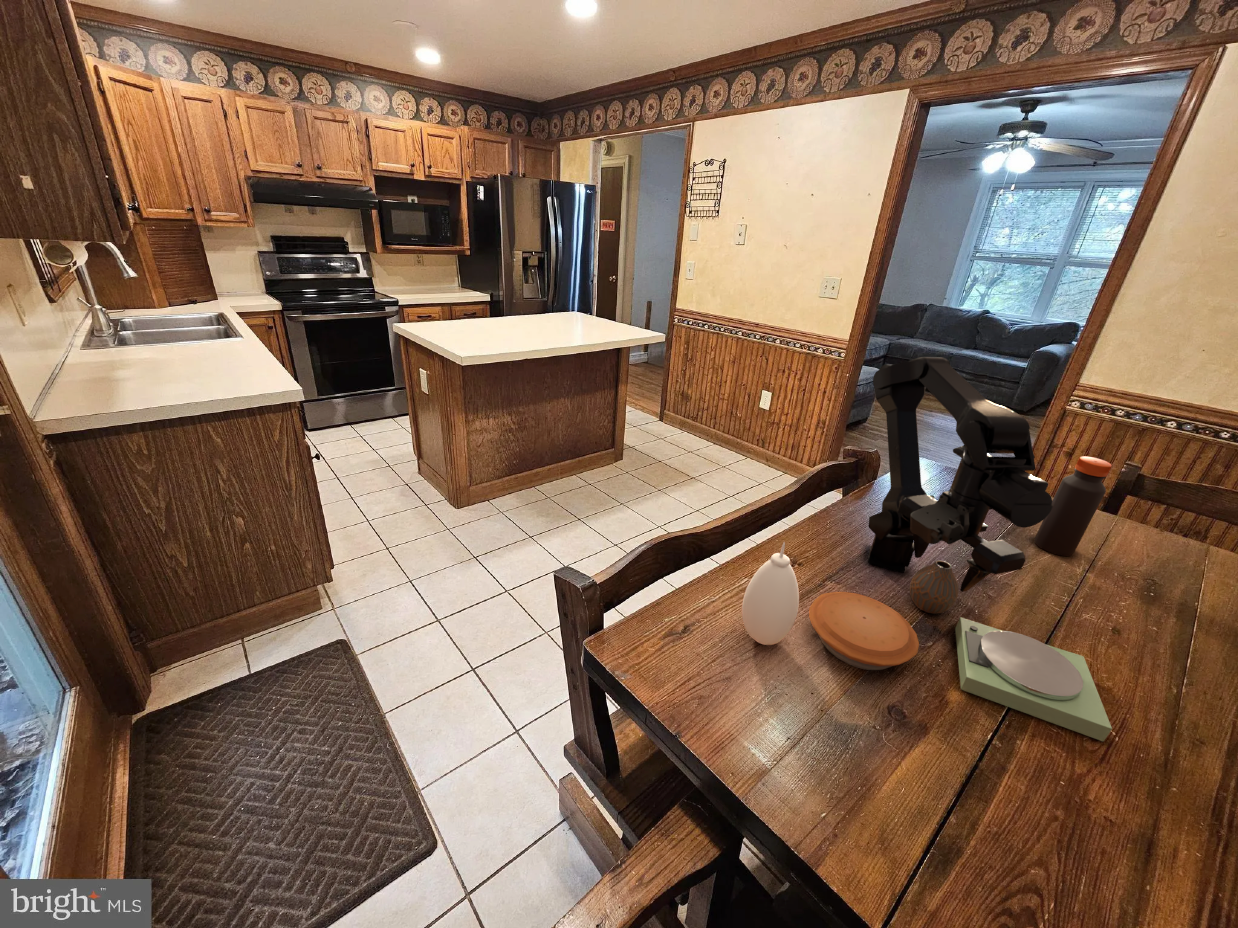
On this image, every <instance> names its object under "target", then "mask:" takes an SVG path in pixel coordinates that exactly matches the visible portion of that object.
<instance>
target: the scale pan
mask: <svg viewBox="0 0 1238 928" xmlns="http://www.w3.org/2000/svg"><path fill="white" fill-rule="evenodd" d="M1048 645H1049V644H1046V643H1044V642H1042V641H1040V640H1038V639H1035V638H1033V637H1031V636H1028V635H1025V634H1022V633H1018V632H1015V631H1008V630H1002V631H992V632H989V633H987V634H985V635H984V636H983V637H982V639H981V641H980V644H979V649H980V653H981V655H982V657H983V658H984V660H985V661H986V662H987V664H988V665H989V666H990V667H991V668H992V669H993V670H994V671H995V672H996V673H998V674H999V675H1000V676H1001V677H1003V678H1004V679H1006V680H1007V681H1009V682H1010V683H1012V684H1013V685H1015V686H1017V687H1019V688H1021V689H1023V690H1025V691H1027V692H1030V693H1032V694H1035V695H1038V696H1041V697H1045V698H1049V699H1055V700H1068V699H1072V698H1075V697H1076V696H1078V695H1079V693H1080V692H1081V690H1082V688H1083V679H1082V677H1081V675H1080V673H1079V671H1078V670H1077V669H1076V667H1075V666H1074V665H1073V664H1072V663H1071V662H1070V661H1069V660H1068V659H1066V658H1065V657H1064V656H1063V655H1061V654H1060V653H1059V652H1057V651H1056V650H1054V649H1053V648H1051V647H1049V646H1050V645H1049V646H1048Z"/></svg>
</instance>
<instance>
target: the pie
mask: <svg viewBox="0 0 1238 928" xmlns="http://www.w3.org/2000/svg"><path fill="white" fill-rule="evenodd" d="M808 611H809V613H808V619H809V621H810V623H811V626H812V628H813V629H814V631H815V632H816V633H817V635H818V637H819V639H820V641H821V643H822V644H823V646H824V647H825V648H826V650H827V651H828V652H829V653H830V654H832V655H833V656H834V657H835V658H837V659H838V660H840V661H841V662H844V663H845V664H847V665H849V666H852V667H855V668H858V669H861V670H868V671H883V670H886V669H888V668H891V667H896V666H899V665H902V664H904V663H906V662H907V663H908V662H909V661H910V660H912V659H913V658H914V657H915V656H916V655H917V654H918V651H919V647H920V642H919V637H918V634H917V632H916V631H915V629H914V628H913V627H912V625H911V624H910V623H909V622H908V621H907V620H906V619H905V617H904V616H903V615H902V614H900V612H898V611H896V610H895V609H894V608H892V607H890V606H889V605H888V604H885V603H882V602H881V601H879V600H876V599H874V598H872V597H869V596H867V595H863V594H860V593H856V592H848V591H830V592H825V593H821V594H820V595H819V596H818V597H817V598H815V599H814V600H813V602H812V603H811V605H810V606H809V608H808Z"/></svg>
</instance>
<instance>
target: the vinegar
mask: <svg viewBox="0 0 1238 928" xmlns="http://www.w3.org/2000/svg"><path fill="white" fill-rule="evenodd" d="M1112 466H1113V465H1112V464H1111V463H1110V462H1108V461H1106V460H1104V459H1100V458H1098V457H1093V456H1079V457H1078V459H1077V462H1076V464H1075V466H1074V469H1073V470H1074V473H1072V474H1070V475H1067V476H1065V477H1063V478H1062V480H1061V482H1060V484H1059V485H1058V488H1057V490H1056V492H1055V494H1054V496H1053V498H1052V506H1053V507H1052V510H1051V512H1050V513H1049V515H1048V516H1047V517H1046V518H1045V519H1044V520H1042V521H1041V524H1040V526H1039V528H1038V530H1037V532H1036V535H1035V536H1034V539H1033V541H1034V544H1035V545H1036V546H1038V547H1039V548H1040V549H1042V550H1043V551H1045V552H1048V553H1050V554H1054V555H1057V556H1063V557H1067V556H1068V557H1069V556H1072V555H1074V554H1075V552H1076V550H1077V549H1078V546H1079V545H1080V542H1081V540H1082V538H1083V537H1084V534H1085V533H1086V531H1087V529H1088V527H1089V525H1090V523H1091V521H1092V520H1093V517H1094V516H1095V514H1096V512H1097V510H1098V508H1099V506H1100V504H1101V502H1102V500H1103V499H1104V496H1105V495H1106V492H1107V488H1106V486H1105V485H1104V483H1103V482H1102V481H1103V480H1105V479H1106V478H1107V476H1108V475H1109V473H1110V471H1111V469H1112Z"/></svg>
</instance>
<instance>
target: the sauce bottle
mask: <svg viewBox="0 0 1238 928" xmlns="http://www.w3.org/2000/svg"><path fill="white" fill-rule="evenodd" d="M785 547H786V542H785V541H783V543H782V545H781V548H780V552H776V553H773V554H772V555H771V556H770V559H768V560H766V562H764V563H763V564H762V565H761V566H760V567H759V568H758V569H757V570H756V572H755V573H754V574H753V576H752V578H751V579H750V581H749V583H748V585H747V586H746V588H745V591H744V595H743V598H742V603H741V619H742V623H743V624H742V625H743V627H744V629H745V630H746V633H747V635H749V637H750V638H751V639H753V640H754V641H755V642H757V643H758V644H762V645H763V646H765V645H766V646H772V645H776V644H778V643H779V642H782V640H784V639H785V638H786V637H787V635H788V634H789V633H790V632H791V630H792V629H793V627H794V625H795V623H796V620H797V616H798V614H799V605H800V590H799V584H798V580H797V576H796V573H795V570H794V569H793V567H792V565H791V559H790V558H789V556H787V555H786V554H785Z"/></svg>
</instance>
